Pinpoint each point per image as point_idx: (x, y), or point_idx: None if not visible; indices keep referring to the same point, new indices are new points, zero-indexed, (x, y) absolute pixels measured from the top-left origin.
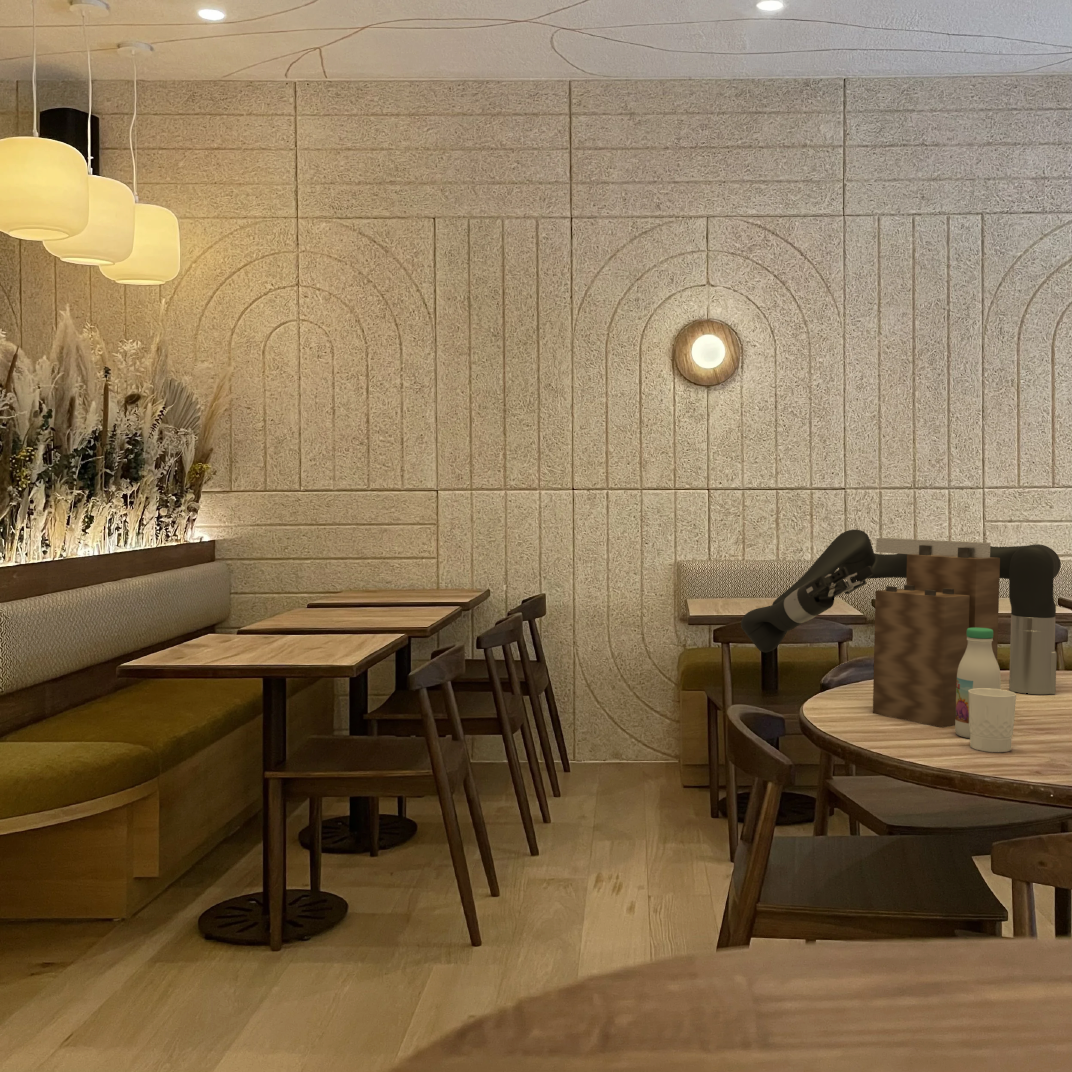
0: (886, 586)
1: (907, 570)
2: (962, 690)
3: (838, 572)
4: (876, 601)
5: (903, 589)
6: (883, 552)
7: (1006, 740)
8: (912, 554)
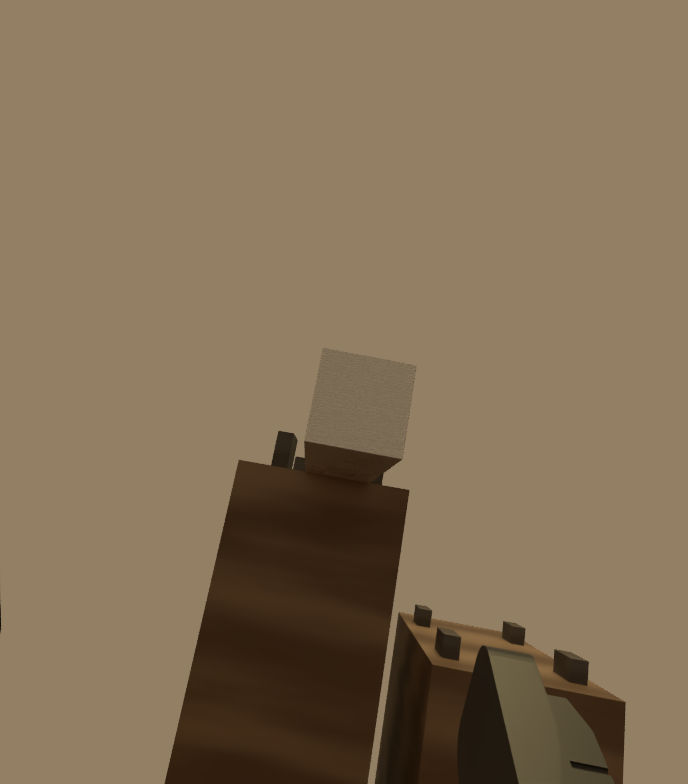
0: (587, 662)
1: (398, 564)
2: None
3: (593, 763)
4: (619, 759)
5: (444, 660)
6: (393, 465)
7: None
8: (377, 485)
